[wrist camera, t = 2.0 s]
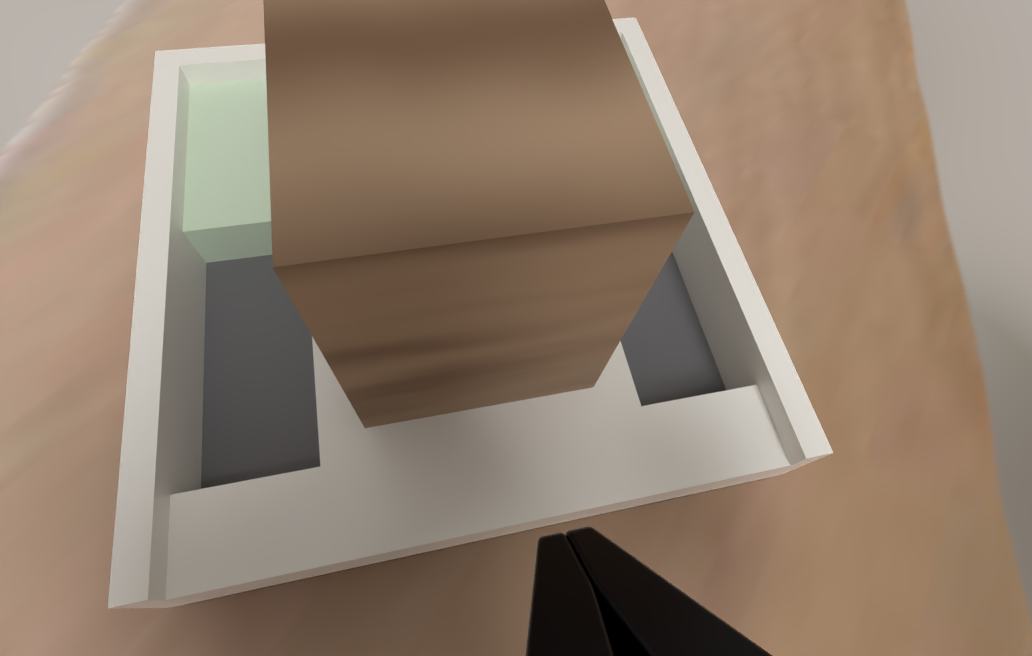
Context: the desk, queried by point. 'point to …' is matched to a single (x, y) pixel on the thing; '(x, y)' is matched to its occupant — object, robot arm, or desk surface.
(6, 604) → the desk surface
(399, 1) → the walnut block
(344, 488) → the box
